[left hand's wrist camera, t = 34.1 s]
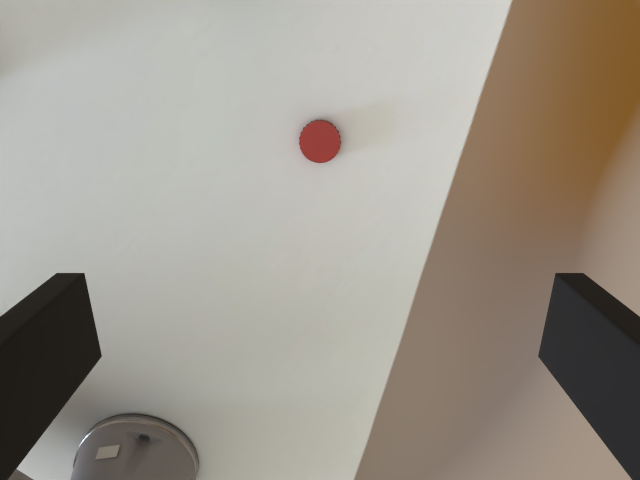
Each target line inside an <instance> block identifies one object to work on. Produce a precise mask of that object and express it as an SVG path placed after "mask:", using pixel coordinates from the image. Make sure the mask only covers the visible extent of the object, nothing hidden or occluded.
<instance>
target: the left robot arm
mask: <svg viewBox="0 0 640 480" xmlns="http://www.w3.org/2000/svg"><path fill="white" fill-rule="evenodd" d="M101 357H102V355H101V351H100V346H99V341H98V336H97V331H96V327H95V322H94V317H93V312H92V308H91V303H90V298H89V293H88V289H87V284H86V279H85V274H84V273H56V274H55V275H54V276H52V277H51V278H50V279H49V280H47V281H46V282H45V283H43V284H42V285H41V286H40V287H38V288H37V289H36V290H34V291H33V292H32V293H30V294H29V295H28V296H27V297H25V298H24V299H23V300H21V301H20V302H19V303H18V304H16V305H15V306H14V307H12V308H11V309H10V310H8V311H7V312H6V313H5V314H3V315H2V316H1V317H0V480H33V479H31V478H30V477H28V476H27V475H25V474H23V473H22V472H20V471H19V470H17V469H16V468H17V467H18V466H19V464H20V463H21V462H22V460H23V459H24V458H25V456H26V455H27V454H28V452H29V451H30V450H31V449H32V447H33V446H34V445H35V443H36V442H37V441H38V439H39V438H40V437H41V435H42V434H43V433H44V431H45V430H46V429H47V428H48V426H49V425H50V424H51V422H52V421H53V420H54V418H55V417H56V416H57V414H58V413H59V412H60V410H61V409H62V408H63V407H64V405H65V404H66V403H67V401H68V400H69V399H70V397H71V396H72V395H73V393H74V392H75V391H76V389H77V388H78V387H79V386H80V384H81V383H82V382H83V380H84V379H85V378H86V376H87V375H88V374H89V372H90V371H91V370H92V368H93V367H94V366H95V365H96V363H97V362H98V361H99V359H100V358H101ZM538 357H539V358H540V359H541V360H542V362H543V363H544V365H545V366H546V367H547V368H548V370H549V371H550V372H551V374H552V375H553V376H554V378H555V379H556V380H557V382H558V383H559V384H560V386H561V387H562V388H563V389H564V391H565V392H566V393H567V395H568V396H569V397H570V399H571V400H572V401H573V403H574V404H575V405H576V407H577V408H578V409H579V410H580V412H581V413H582V414H583V416H584V417H585V418H586V420H587V421H588V422H589V423H590V425H591V426H592V428H593V429H594V430H595V431H596V433H597V434H598V435H599V437H600V438H601V439H602V441H603V442H604V443H605V445H606V446H607V447H608V449H609V450H610V451H611V452H612V454H613V455H614V456H615V458H616V459H617V460H618V462H619V463H620V464H621V466H622V467H623V468H624V469H625V471H626V472H627V473H628V475H629V476H630V477H631V479H632V480H640V317H639V316H638V315H637V314H635V313H634V312H633V311H631V310H630V309H629V308H628V307H626V306H625V305H624V304H622V303H621V302H620V301H619V300H617V299H616V298H615V297H613V296H612V295H611V294H610V293H608V292H607V291H606V290H604V289H603V288H602V287H600V286H599V285H598V284H597V283H595V282H594V281H593V280H591V279H590V278H589V277H588V276H586V275H585V274H583V273H556V274H555V279H554V284H553V289H552V293H551V298H550V303H549V308H548V312H547V317H546V322H545V327H544V331H543V336H542V341H541V346H540V351H539V355H538ZM197 472H198V457H197V453H196V451H195V448H194V447H193V445H192V443H191V442H190V441H189V439H188V438H187V437H186V436H185V435H184V434H183V433H182V432H181V431H179V430H178V429H177V428H175V427H174V426H172V425H170V424H169V423H167V422H165V421H162V420H160V419H157V418H154V417H150V416H144V415H136V414H128V415H119V416H114V417H111V418H108V419H105V420H103V421H101V422H99V423H98V424H96V425H95V426H94V427H93V428H92V429H90V431H89V432H88V433H87V435H86V436H85V438H84V439H83V441H82V442H81V444H80V446H79V448H78V450H77V453H76V455H75V459H74V465H73V472H72V476H71V480H195V479H196V476H197Z"/></svg>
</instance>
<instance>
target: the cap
mask: <svg viewBox="0 0 640 480" xmlns="http://www.w3.org/2000/svg"><path fill="white" fill-rule="evenodd" d="M299 139H300V143H299V144H300V149H301V151H302V153H303V154H304V156H305V157H306V158H308V159H309V160H311V161H313V162H316V163H323V162H327V161H329V160H331V159H332V158H334V157H335V156H336V154H337V153H338V151H339V148H340V143H341V141H340V136H339V132H338V131H337V129H336V127H335V126H333V125H332V123H329V122H327V121H324V120H316V121H313V122H312V121H311V122H310V123H309V124H307V125H306V126H305V128H303V131H302V132H301V136H300V138H299Z"/></svg>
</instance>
